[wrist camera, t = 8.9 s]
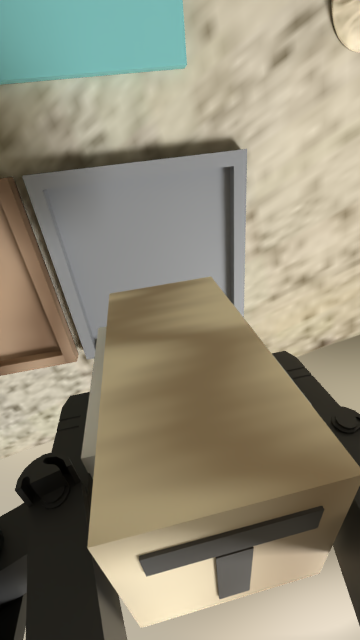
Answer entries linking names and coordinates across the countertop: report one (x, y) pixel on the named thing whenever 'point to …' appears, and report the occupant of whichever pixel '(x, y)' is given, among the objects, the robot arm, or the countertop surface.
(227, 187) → the grey tray
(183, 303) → the letter block
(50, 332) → the walnut tray
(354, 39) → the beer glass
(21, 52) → the teal mat
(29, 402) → the countertop surface
